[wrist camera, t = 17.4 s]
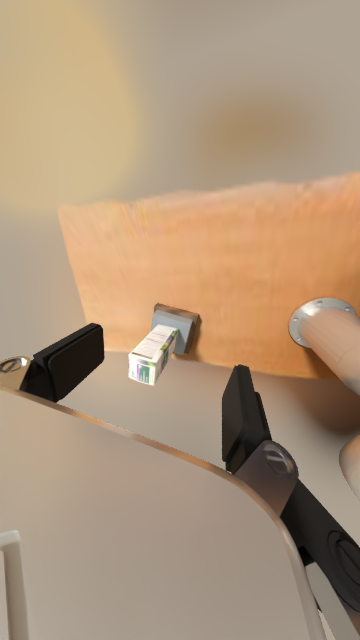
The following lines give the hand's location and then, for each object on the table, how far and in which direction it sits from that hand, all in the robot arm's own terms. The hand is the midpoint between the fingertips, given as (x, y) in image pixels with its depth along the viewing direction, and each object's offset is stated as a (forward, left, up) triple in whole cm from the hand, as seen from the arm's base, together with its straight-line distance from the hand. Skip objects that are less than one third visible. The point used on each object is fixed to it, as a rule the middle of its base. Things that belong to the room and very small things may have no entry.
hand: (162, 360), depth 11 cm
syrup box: (+6, +15, -27) cm, 32 cm away
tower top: (+6, +15, -30) cm, 34 cm away
